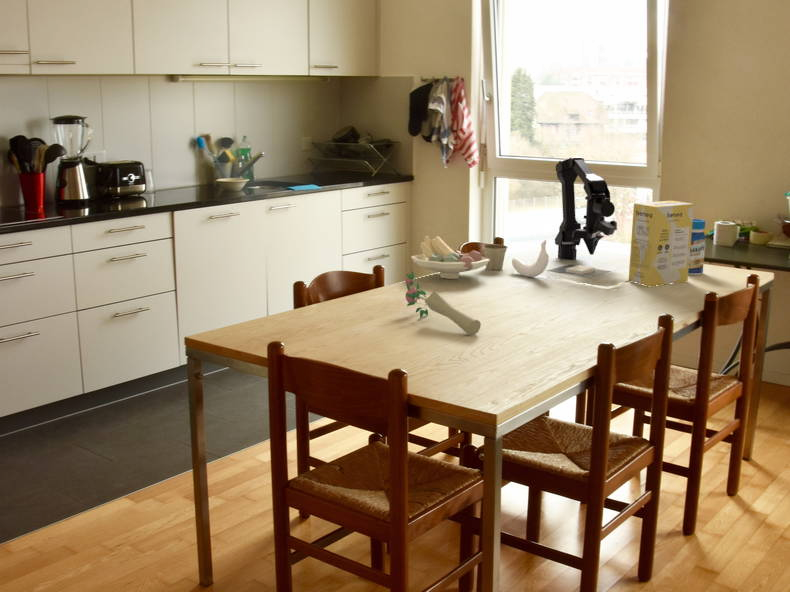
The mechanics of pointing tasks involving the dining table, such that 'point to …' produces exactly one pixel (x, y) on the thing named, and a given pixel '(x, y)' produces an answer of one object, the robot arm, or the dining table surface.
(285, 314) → the dining table surface
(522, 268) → the banana
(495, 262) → the flower pot
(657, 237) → the pasta box
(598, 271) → the slate board
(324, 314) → the dining table surface
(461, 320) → the flower vase
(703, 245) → the beverage bottle
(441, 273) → the dish with food
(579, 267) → the tile
